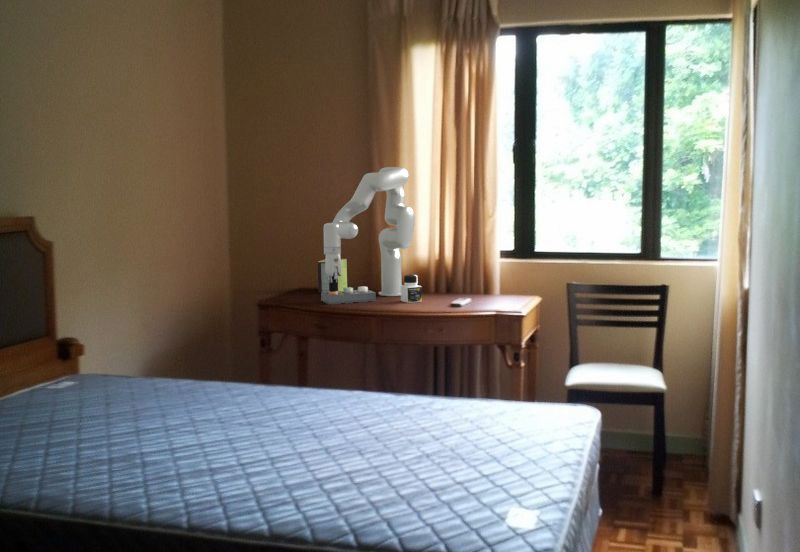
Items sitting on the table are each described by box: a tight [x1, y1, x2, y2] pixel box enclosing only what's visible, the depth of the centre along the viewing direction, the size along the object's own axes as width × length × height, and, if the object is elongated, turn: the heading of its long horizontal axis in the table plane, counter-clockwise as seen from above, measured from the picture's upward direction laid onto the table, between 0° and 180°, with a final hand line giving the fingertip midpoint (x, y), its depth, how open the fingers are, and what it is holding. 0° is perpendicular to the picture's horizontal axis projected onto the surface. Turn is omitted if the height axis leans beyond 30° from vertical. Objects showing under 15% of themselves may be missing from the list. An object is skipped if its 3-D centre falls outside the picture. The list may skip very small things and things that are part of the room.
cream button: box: [357, 285, 369, 292], centre depth 395 cm, size 4×4×3 cm
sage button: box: [343, 286, 354, 293], centre depth 393 cm, size 4×4×3 cm
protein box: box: [317, 258, 348, 294], centre depth 427 cm, size 10×15×16 cm
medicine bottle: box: [400, 274, 423, 304], centre depth 389 cm, size 7×7×12 cm
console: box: [320, 289, 377, 305], centre depth 393 cm, size 22×12×4 cm, turn 112°
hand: (333, 291), depth 390 cm, fingers closed
